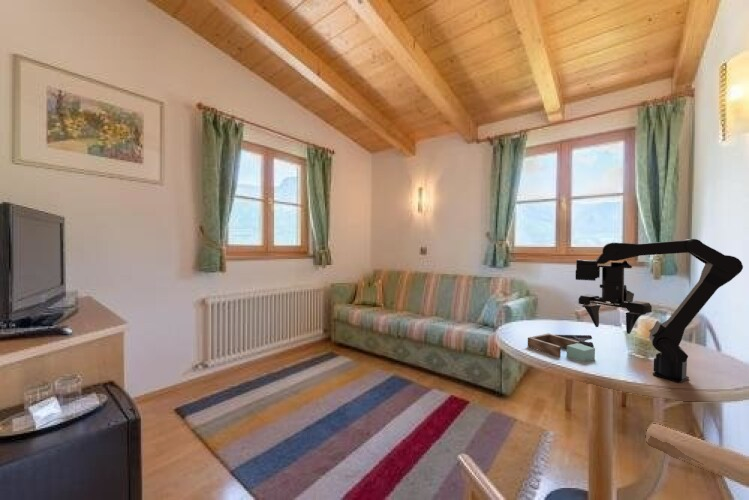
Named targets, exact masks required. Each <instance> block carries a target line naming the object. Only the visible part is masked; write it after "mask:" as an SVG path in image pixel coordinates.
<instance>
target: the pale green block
mask: <svg viewBox="0 0 749 500" xmlns="http://www.w3.org/2000/svg"><path fill="white" fill-rule="evenodd" d="M595 356H596V348H595V347H594V348H592V347H589V346H585V345H583V344H581V343H580V344H578V343H576V344H572V345H568V346H567V349H566V357H568V358H571V359H574V360H577V361H580V362H582V363H585V362H589V361H594V360H595V358H596V357H595Z"/></svg>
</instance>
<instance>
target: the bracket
mask: <svg viewBox="0 0 749 500" xmlns="http://www.w3.org/2000/svg"><path fill="white" fill-rule="evenodd" d="M555 335H556V336H560V337H564V338H567V339H571V340H575V341H578V342H580V344H582V345H585V346H589V347H592V348H595V346H594V343H593V342H591V341H587V340H592V339H593V337H592V335H590V334H587V335H585V334H584V335H583V334H555Z"/></svg>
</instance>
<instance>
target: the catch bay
mask: <svg viewBox="0 0 749 500" xmlns="http://www.w3.org/2000/svg"><path fill="white" fill-rule="evenodd" d="M556 335H557V334H551V333H549V332H548V333H543V334H538V335H533V336H530V337H527V347H528V346H529V347H528V348H530V347H532V348H531V349H533V348H535V349H534V350H536V349H538V350H537V351H539V350H540V351H539V352H542V351H543V353H545V352H546V353H545V354H548V353H549V354H548V355H551V354H552V355H551V356H554V355H555V357H557V356H558V357H557V358H560V357H561V350H562V348H563V349H566V350H567V346H568V345H572V344H576V343H578V344H581V343H580V342H578V341H575V340H571V339H572V338H571V339H567V338H564V337H560V336H556Z"/></svg>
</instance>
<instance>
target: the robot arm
mask: <svg viewBox="0 0 749 500" xmlns="http://www.w3.org/2000/svg"><path fill="white" fill-rule="evenodd" d="M684 253H685V254H686V253H688V254H690V255H691V256H693V257H694V258H695V259H697V260H698V261H700V262H701V263H703V264H704V266H703V268H702V270H701V274H700V277H699V280H698V281H697V283H696V284H695V285H694V286H693V288H692V289H691V290H690V292H688V294H687V295H686V296H685V298H684V299H683V301H681V303H680V304H679V306H678V307H677V308H676V309H675V311H673V313H672V314H671V315H670V317H669V318H668V319H667V320H666V321H663V322H660V321H659V320H656V321H655V323H654V325H653V326H652V328H651V329H649V330H648V332H649V335H648V339H649V341H650V343H651V344H652V347H653V348H654V349H655V350H656V351H658V353H656V354H655V357H654V358H653V372H652V375H653V376H655V377H658V378H663V379H664V380H665V379H666V380H669V381H673V382H676V383H682V382H684V381H687V380H689V379H690V377H689V376H687V371H688V370H687V369H688V368H687V367H688V358H689V355H688V354H687V352H685V350H684V349H683V348H682V347H681V346H680V344H681V342H682V340H683V337H684V333H685V330H686V328H687V327H689V325H690V323H691V322H692V321H693V320H694V318H695V317H696V316H697V315H698V313H699V312H701V310H702V309H703V307H704V306H705V305H706V304H707V302H708V301H709V300H710V299H711V298H712V296H713V295H714V294H715V293H716V291H718V289H720V288H721V287H723V286H724V285H726V284H728V283H729V282H730V281H732V280H733V279H734V278H735V277H737V276H738V275H739V274H740V273H741V272H742V270H743V268H744V265H743V263H742V261H741V260H740V259H739V258H738V257H736V256H733V255H727V254H723V252H721V251H719V250H717V249H715V248H712V247H710V246H709V245H708V244H707V245H706V244H705V243H703V242H702V241H701V240H700V239H696V238H687V239H683V240H674V241H673V240H672V241H661V242H647V243H628V242H627V243H626V242H608V243H606V244H605V245H604V246H603V247H602V249H601V254H600V255H599V256H598V257H596V259H595V260H583V259H577V260H576V265H575V267H576V268H575V280H576V281H589V282H590V281H592V282H595V281H596V279H599V278H600V273H601V277H602V278H601V283H600V284H599V288H601V296H599V295H595V294H583V295H580V296H579V297H578V301H577V304H579V305H581V306H582V308H584V309H585V310H586V312H587V314H588V315H589V316H590V318H591V320H592V322H593V324H594V327H595V328H599V326H600V325H599V324H600V313H599V312H600V309H601V305H602V306H609V307H616V308H621V309H626V310H627V311H628V312H625V329H626V333H627V335H629V334H630V335H631V332H632V331H633V329H634V327H635V325H636V323H637V320H639V318H640V317H641V316H643V315H646V314H648V313H649V314H650V313H652V310H653V307H652V306H653V305H651V303H650V302H645V301H639V300H634V297H635V293H634V292H632V291H630V290H628V288H627V285H626V284H625V269H632V268H633V266H632V265H631V264H629V263H628V261H627V260H628V259H632V258H635V257H639V256H640V257H641V256H653V255H654V256H655V255H668V254H669V255H671V254H684ZM626 259H627V260H626ZM622 260H623V261H622ZM610 261H611V262H610ZM616 261H618V262H616ZM619 261H622V262H619ZM608 262H610V265H609V264H608V265H607V264H606V263H608ZM605 264H606V265H605ZM600 271H602V272H600Z"/></svg>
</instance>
